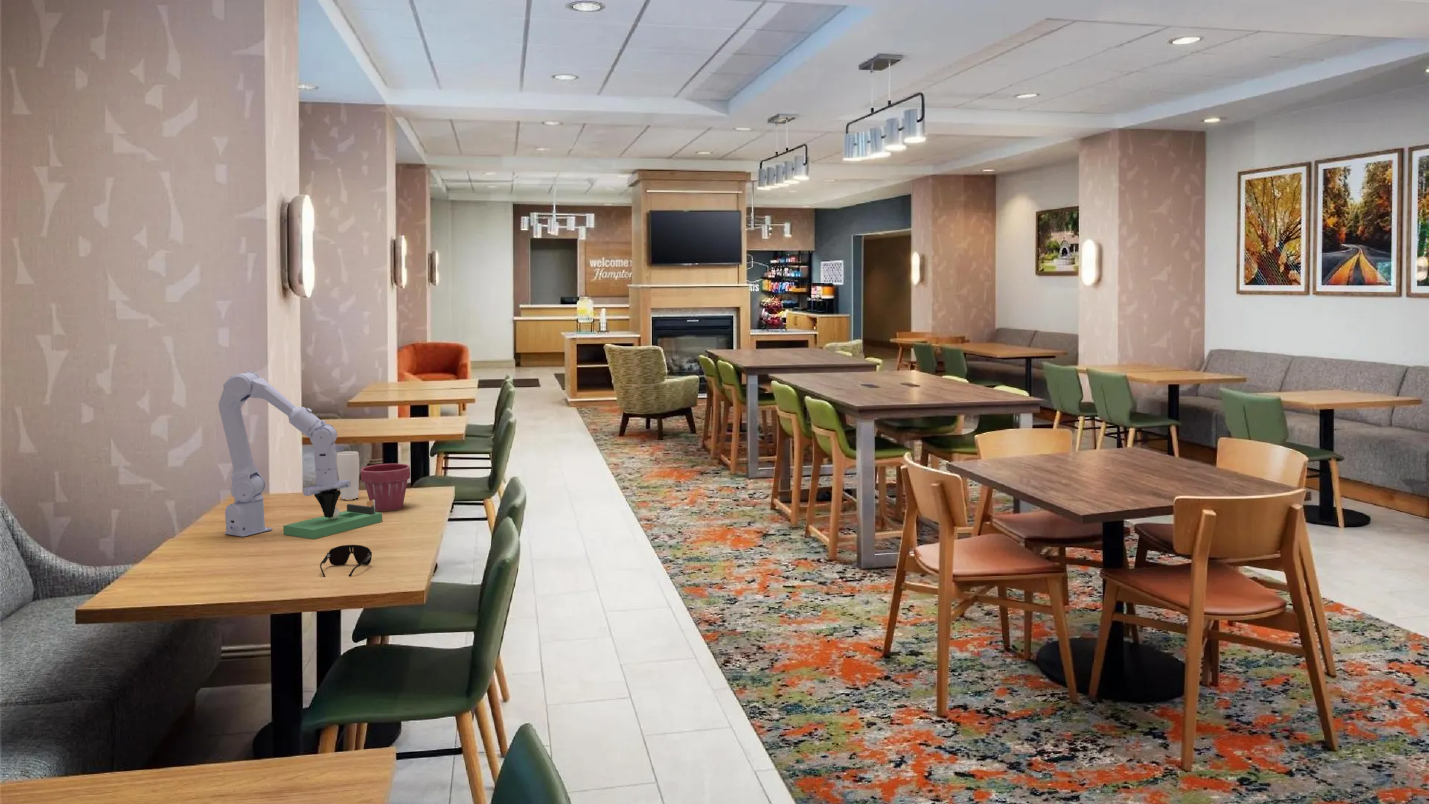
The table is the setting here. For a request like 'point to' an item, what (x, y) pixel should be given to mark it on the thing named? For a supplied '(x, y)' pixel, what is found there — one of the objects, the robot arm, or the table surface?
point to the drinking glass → (349, 473)
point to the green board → (335, 522)
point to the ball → (335, 514)
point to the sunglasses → (343, 552)
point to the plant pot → (386, 485)
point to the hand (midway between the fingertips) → (329, 516)
